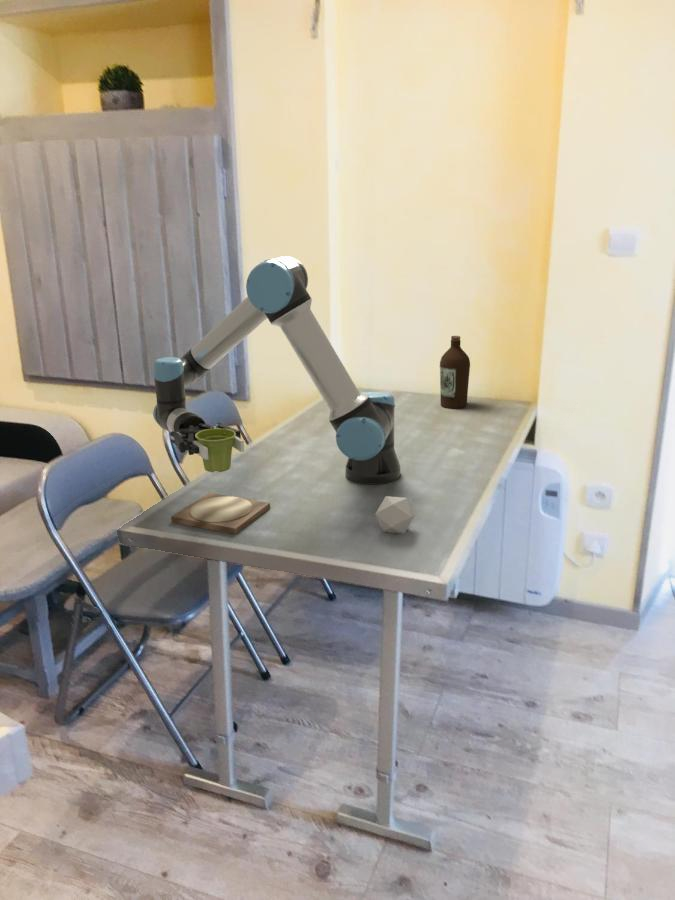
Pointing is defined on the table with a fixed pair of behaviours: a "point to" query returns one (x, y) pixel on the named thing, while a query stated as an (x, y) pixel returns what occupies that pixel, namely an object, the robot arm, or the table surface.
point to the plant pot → (217, 448)
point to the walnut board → (221, 513)
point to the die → (395, 514)
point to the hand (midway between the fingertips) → (224, 450)
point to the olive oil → (454, 376)
